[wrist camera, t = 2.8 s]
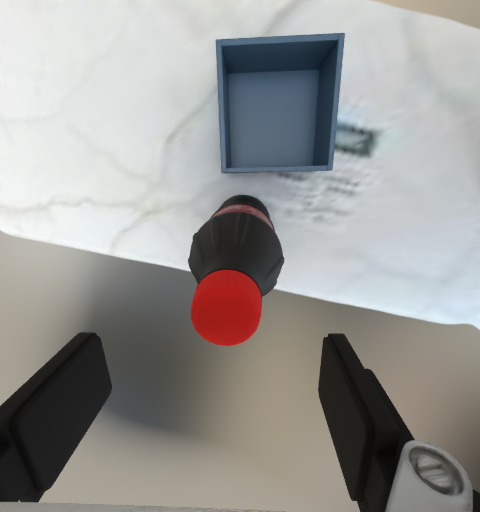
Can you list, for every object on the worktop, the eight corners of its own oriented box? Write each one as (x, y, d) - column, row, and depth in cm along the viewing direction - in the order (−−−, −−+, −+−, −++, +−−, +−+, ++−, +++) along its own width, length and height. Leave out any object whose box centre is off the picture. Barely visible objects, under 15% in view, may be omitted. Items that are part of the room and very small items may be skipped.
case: (322, 66, 34) (345, 32, 26) (315, 170, 38) (332, 170, 30) (224, 70, 35) (215, 39, 27) (227, 173, 39) (221, 172, 31)
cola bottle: (246, 182, 39) (230, 206, 11) (279, 222, 41) (338, 330, 13) (208, 216, 42) (112, 311, 13) (241, 253, 43) (219, 406, 15)
